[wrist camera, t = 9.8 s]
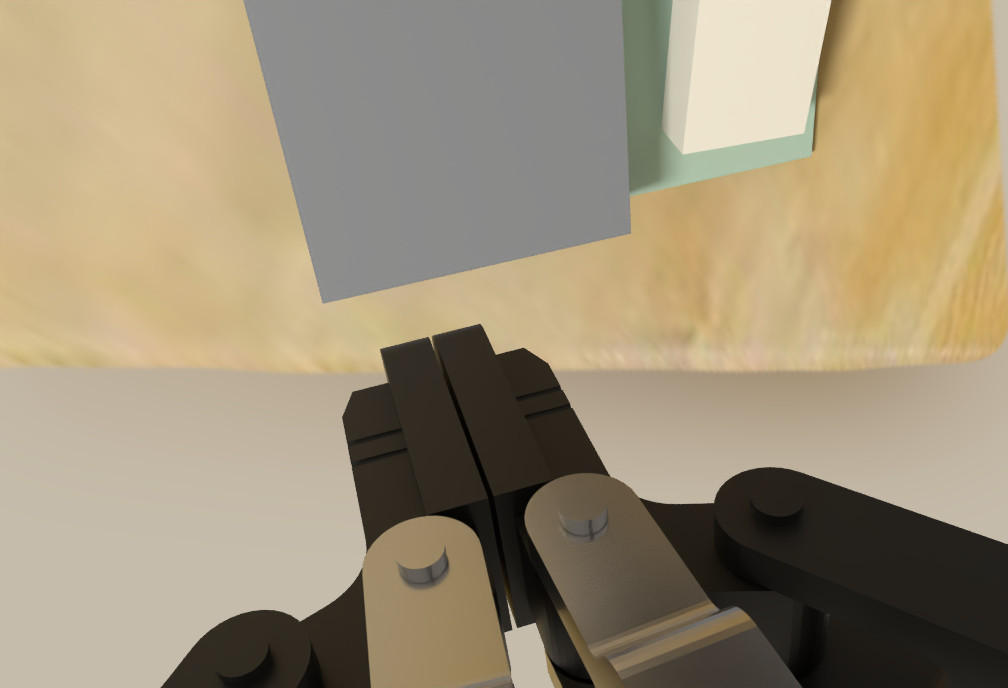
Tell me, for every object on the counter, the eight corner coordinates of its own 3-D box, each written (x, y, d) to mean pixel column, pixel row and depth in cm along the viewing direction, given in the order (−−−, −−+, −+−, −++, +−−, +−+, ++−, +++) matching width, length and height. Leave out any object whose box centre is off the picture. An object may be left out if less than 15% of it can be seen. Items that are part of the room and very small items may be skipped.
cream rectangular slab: (846, -72, 36) (802, -98, 39) (705, -53, 35) (669, -81, 38) (804, 133, 42) (768, 99, 45) (682, 154, 41) (653, 118, 44)
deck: (215, -120, 34) (215, -108, 30) (578, -176, 36) (614, -171, 32) (315, 262, 42) (323, 303, 39) (600, 199, 45) (631, 233, 41)
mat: (578, -176, 36) (581, -176, 35) (834, -216, 37) (840, -216, 37) (600, 199, 45) (603, 202, 44) (807, 153, 46) (811, 156, 46)
